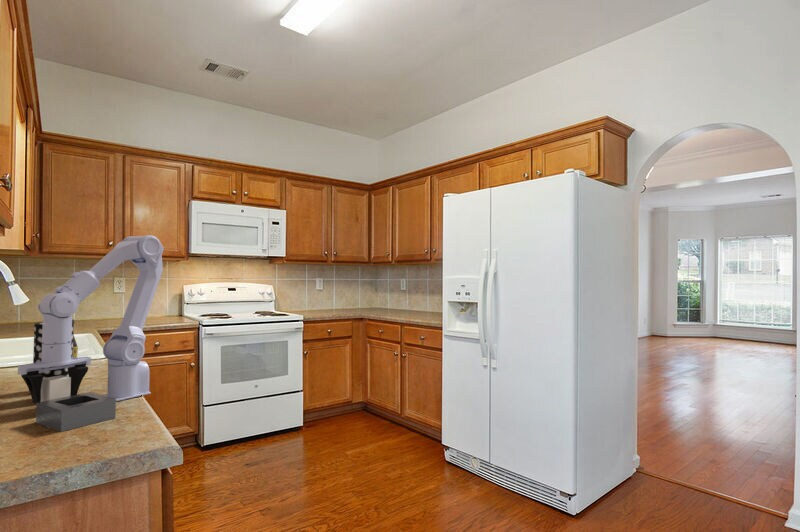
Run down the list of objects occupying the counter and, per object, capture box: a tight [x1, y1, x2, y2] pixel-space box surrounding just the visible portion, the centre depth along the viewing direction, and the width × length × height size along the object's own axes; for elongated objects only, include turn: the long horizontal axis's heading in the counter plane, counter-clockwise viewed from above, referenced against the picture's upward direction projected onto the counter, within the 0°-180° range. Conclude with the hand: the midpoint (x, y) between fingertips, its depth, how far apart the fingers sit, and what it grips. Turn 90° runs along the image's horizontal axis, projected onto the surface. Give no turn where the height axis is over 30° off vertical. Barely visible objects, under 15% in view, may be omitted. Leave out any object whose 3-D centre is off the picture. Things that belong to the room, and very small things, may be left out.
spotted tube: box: [32, 321, 75, 378], centre depth 122 cm, size 8×8×20 cm
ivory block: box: [40, 375, 71, 402], centre depth 111 cm, size 4×4×8 cm
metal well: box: [35, 391, 117, 433], centre depth 104 cm, size 11×11×4 cm
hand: (55, 399), depth 111 cm, fingers open, 7 cm apart
